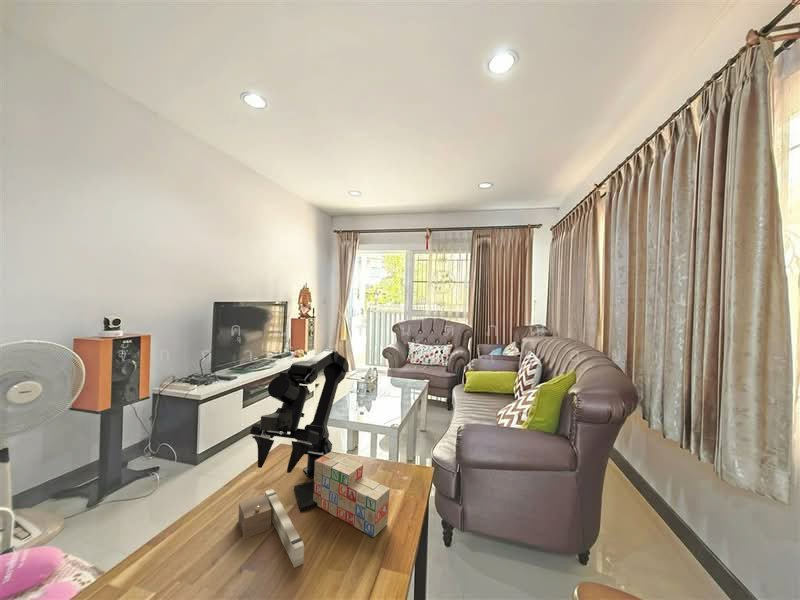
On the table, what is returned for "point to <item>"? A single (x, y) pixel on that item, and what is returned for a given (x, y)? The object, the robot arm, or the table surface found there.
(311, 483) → the handheld gaming console
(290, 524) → the rail
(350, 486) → the stack of blocks
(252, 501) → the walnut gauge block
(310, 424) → the robot arm
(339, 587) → the table surface
